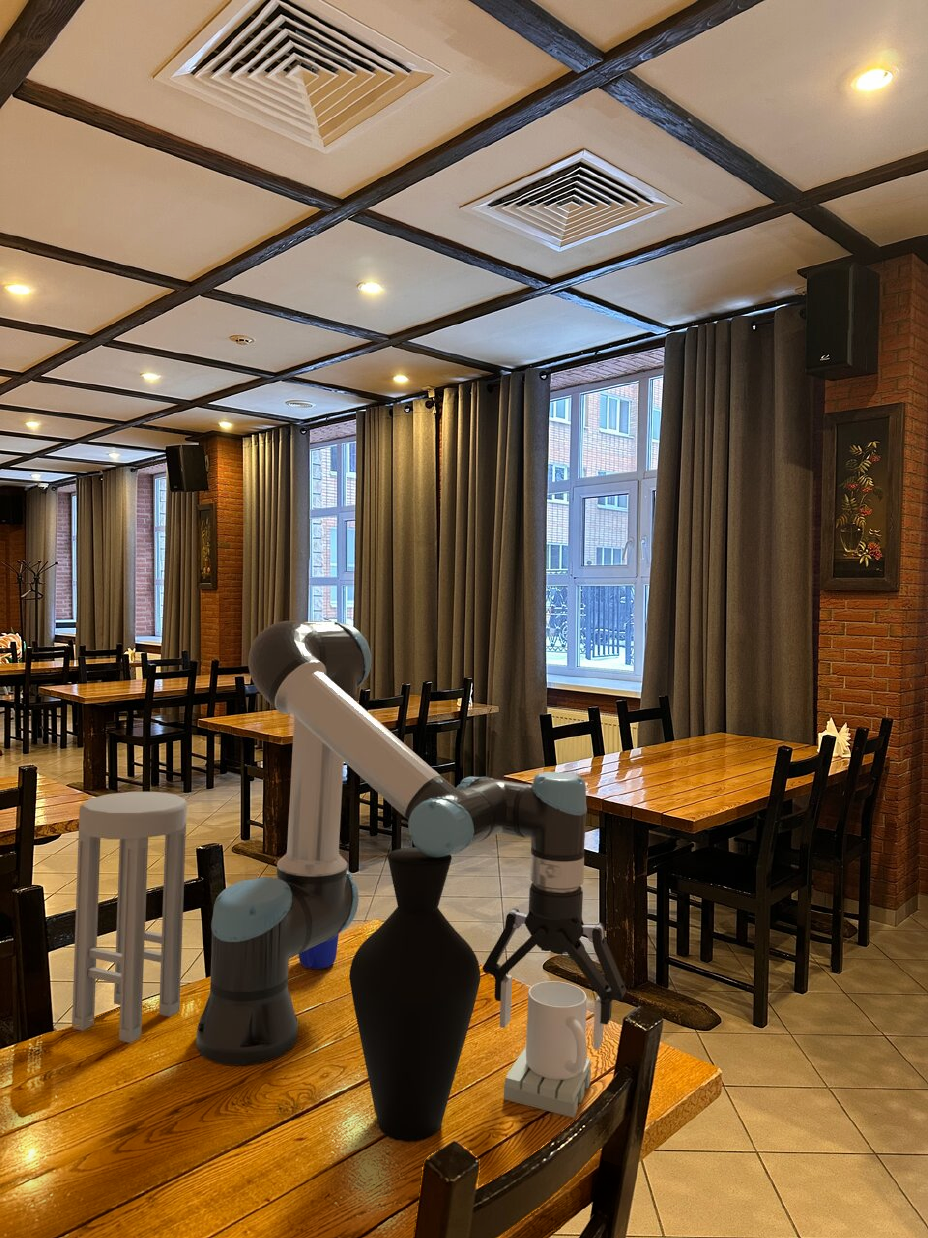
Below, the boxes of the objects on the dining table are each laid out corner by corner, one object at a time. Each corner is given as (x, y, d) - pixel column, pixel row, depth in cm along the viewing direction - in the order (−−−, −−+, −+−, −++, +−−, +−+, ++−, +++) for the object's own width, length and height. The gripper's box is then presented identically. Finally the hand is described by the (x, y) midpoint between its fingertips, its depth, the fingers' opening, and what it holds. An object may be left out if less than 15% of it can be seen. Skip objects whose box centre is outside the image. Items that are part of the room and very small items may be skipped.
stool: (122, 990, 145) (129, 787, 145) (197, 1008, 140) (205, 797, 140) (51, 1031, 131) (58, 805, 130) (131, 1052, 125) (140, 817, 125)
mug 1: (280, 979, 152) (282, 924, 152) (304, 953, 164) (306, 901, 164) (324, 984, 151) (326, 928, 151) (344, 957, 163) (346, 905, 162)
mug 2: (608, 1090, 115) (611, 1015, 114) (554, 1101, 112) (557, 1023, 111) (566, 1047, 126) (568, 978, 126) (515, 1056, 123) (518, 985, 123)
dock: (502, 1100, 117) (503, 1077, 117) (525, 1065, 126) (525, 1044, 126) (573, 1119, 113) (574, 1095, 113) (590, 1081, 122) (591, 1059, 122)
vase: (355, 1082, 120) (364, 836, 120) (475, 1089, 119) (485, 841, 119) (332, 1160, 103) (343, 873, 103) (473, 1168, 102) (484, 880, 102)
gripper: (464, 878, 121) (458, 1026, 121) (640, 907, 111) (634, 1067, 111) (483, 864, 128) (477, 1004, 128) (649, 890, 118) (644, 1041, 118)
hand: (550, 1034), depth 120 cm, fingers open, 13 cm apart
